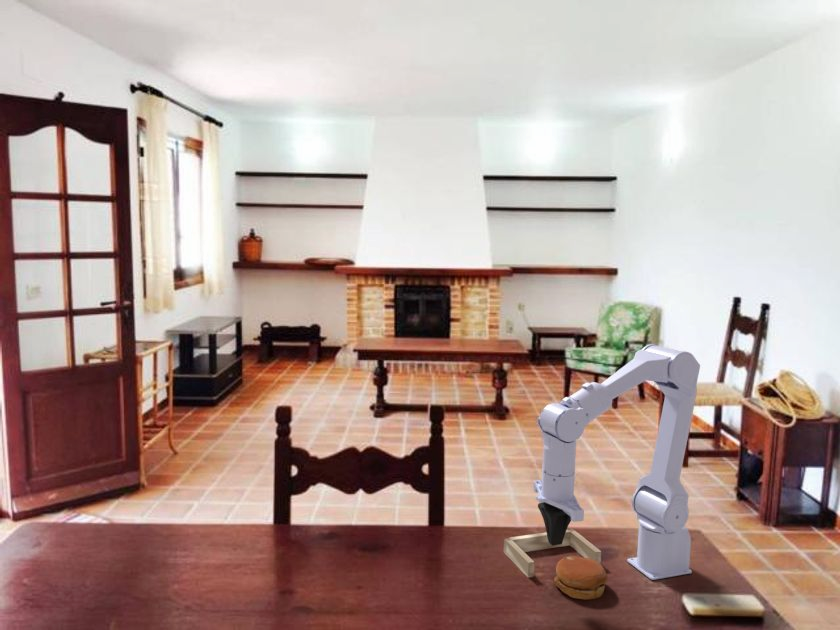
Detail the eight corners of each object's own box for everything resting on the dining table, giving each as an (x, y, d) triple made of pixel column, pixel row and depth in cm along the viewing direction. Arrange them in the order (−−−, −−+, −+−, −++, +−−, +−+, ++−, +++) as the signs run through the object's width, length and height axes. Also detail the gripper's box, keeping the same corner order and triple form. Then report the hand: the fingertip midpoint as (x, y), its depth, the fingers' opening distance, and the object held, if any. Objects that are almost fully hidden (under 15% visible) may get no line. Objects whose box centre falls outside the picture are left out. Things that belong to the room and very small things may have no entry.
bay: (571, 542, 143) (572, 528, 143) (600, 565, 133) (601, 551, 133) (503, 552, 138) (504, 538, 138) (527, 577, 128) (528, 562, 128)
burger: (588, 607, 119) (590, 582, 118) (544, 587, 125) (545, 563, 124) (616, 587, 126) (617, 563, 125) (572, 569, 132) (573, 546, 132)
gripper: (519, 460, 126) (517, 529, 127) (559, 488, 112) (556, 565, 114) (553, 456, 128) (550, 524, 130) (596, 483, 114) (592, 559, 116)
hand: (555, 543), depth 122 cm, fingers closed
